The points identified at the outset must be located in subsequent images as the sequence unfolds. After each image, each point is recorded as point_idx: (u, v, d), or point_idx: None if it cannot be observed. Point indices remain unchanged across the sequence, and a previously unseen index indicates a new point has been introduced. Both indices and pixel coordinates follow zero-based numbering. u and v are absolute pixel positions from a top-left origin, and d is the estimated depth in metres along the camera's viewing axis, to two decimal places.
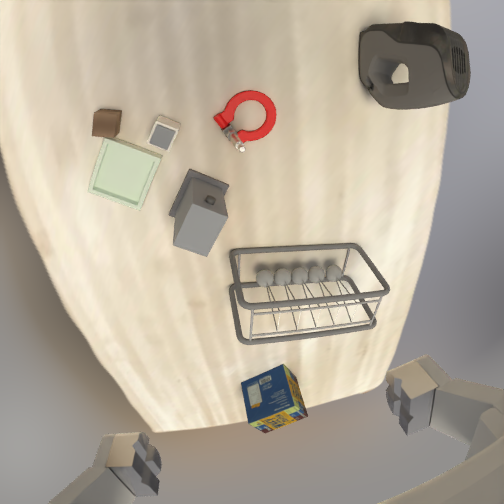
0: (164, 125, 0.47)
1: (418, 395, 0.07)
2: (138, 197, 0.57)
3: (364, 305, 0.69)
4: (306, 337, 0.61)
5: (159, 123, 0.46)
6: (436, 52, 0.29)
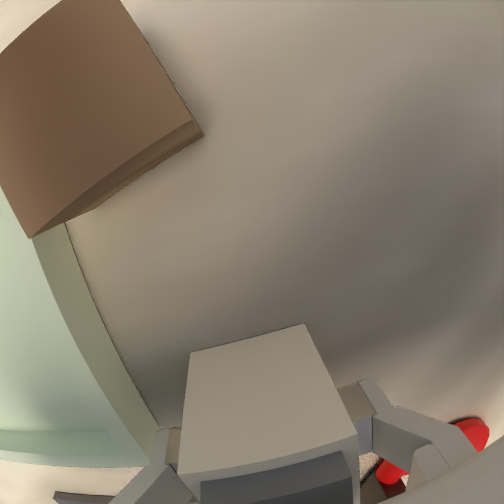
0: (351, 471, 0.06)
1: (352, 422, 0.07)
2: None
3: None
4: None
5: (350, 453, 0.06)
6: None
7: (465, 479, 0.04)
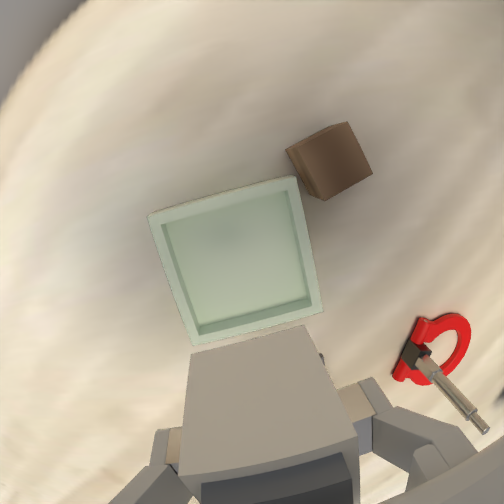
0: (351, 472, 0.06)
1: (352, 422, 0.07)
2: (209, 320, 0.26)
3: None
4: None
5: (350, 454, 0.06)
6: None
7: (465, 479, 0.04)
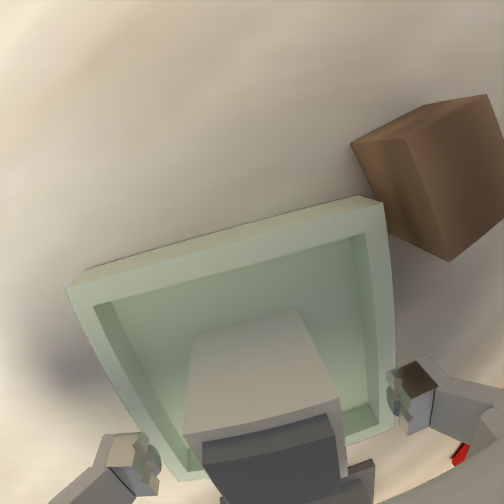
0: (337, 436, 0.08)
1: (418, 395, 0.07)
2: None
3: None
4: None
5: (334, 416, 0.07)
6: None
7: (465, 479, 0.04)
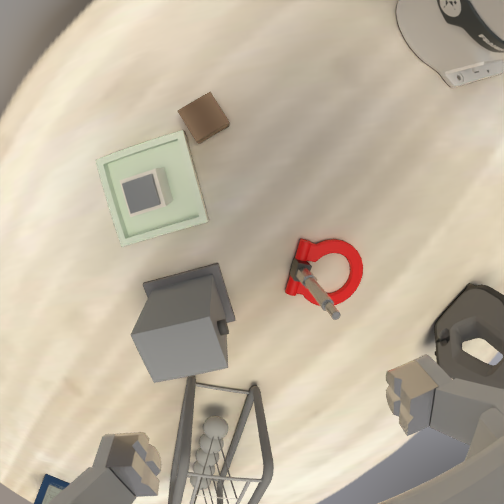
0: (157, 183, 0.31)
1: (418, 395, 0.07)
2: (134, 231, 0.38)
3: None
4: None
5: (155, 175, 0.31)
6: None
7: (465, 479, 0.04)
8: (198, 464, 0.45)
